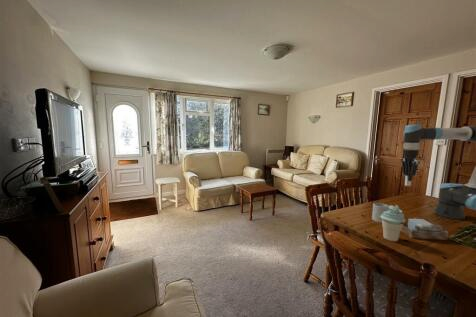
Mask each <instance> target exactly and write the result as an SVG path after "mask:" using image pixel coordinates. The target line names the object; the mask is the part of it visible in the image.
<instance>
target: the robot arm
mask: <svg viewBox="0 0 476 317" xmlns="http://www.w3.org/2000/svg"><path fill="white" fill-rule="evenodd" d="M403 137H404V138H403V150H402V155H403V156H404V157H403V158H401V159H400V161H401V166H402V167H401V168H402V174H404V177H405V178H404V186H405V187H411V186H412V181H413V176H415V177H416V174H417V170H418V167H419V165H420V163H421V162H420V161H419V160H417V157H418V156H419V152H420V151H419V150H420V144H421V143H420V142H421V140H424V141H430V140H431V141H434V140H460V141H462V142H474V143H476V125H471V126H462V127H422V125H421V124H408V125H405V127H404V130H403ZM437 202H438V203H437V204H436V206H435V208H433V213H434V214H435V215H437V216H439V217H441V218H442V217H443V218H445V219H452V220H458V221H459V220H465V217H466V215H465V211H464V208H463V207H465V208H467V209H471V210H474V211H476V165H475V167H474V168H473V171H472V173H471V175H470V178H469V180H468V182H467V183H465V184H462V183H452V182H451V183H450V182H449V183H448V182H445V183H444V182H443V183H441V184H440V187H439V194H438V201H437Z"/></svg>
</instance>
